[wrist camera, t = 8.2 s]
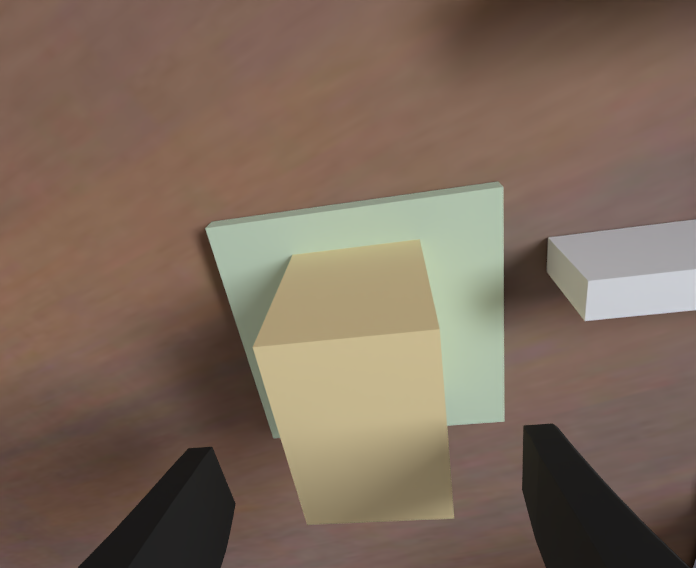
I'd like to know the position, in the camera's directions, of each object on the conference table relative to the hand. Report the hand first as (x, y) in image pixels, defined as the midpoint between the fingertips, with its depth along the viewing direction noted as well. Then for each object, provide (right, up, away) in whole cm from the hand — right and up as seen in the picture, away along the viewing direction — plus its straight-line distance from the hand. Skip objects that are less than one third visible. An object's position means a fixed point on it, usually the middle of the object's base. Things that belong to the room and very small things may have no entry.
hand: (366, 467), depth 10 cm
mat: (0, +3, +5) cm, 6 cm away
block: (0, +3, +5) cm, 6 cm away
